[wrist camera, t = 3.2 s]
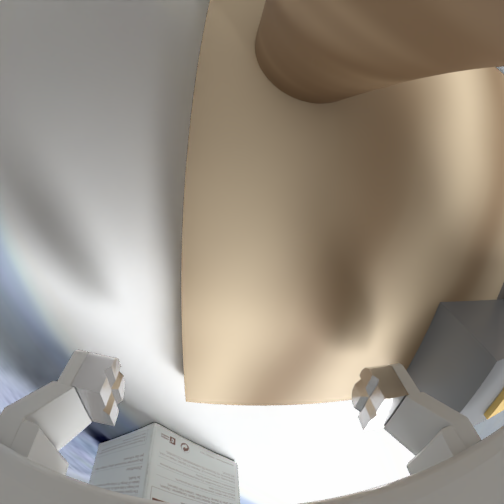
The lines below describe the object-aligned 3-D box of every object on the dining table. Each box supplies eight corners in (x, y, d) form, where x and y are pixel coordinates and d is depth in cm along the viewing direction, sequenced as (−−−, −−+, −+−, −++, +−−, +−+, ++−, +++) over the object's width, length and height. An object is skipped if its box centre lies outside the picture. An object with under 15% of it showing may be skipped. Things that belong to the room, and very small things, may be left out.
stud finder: (396, 386, 11) (432, 453, 7) (440, 302, 9) (503, 368, 5) (475, 366, 12) (509, 411, 8) (511, 298, 10) (558, 339, 6)
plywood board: (188, 381, 12) (186, 402, 10) (220, -20, 6) (219, -39, 4) (497, 351, 14) (505, 360, 13) (558, 146, 8) (570, 149, 7)
